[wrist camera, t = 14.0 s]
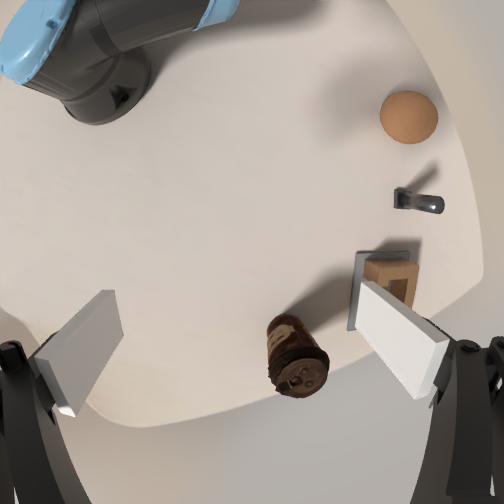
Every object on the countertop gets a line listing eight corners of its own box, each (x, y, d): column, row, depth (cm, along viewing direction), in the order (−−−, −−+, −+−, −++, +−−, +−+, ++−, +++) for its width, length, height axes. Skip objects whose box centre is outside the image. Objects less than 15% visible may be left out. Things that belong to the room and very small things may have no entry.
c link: (364, 259, 41) (379, 268, 37) (402, 257, 42) (419, 265, 37) (356, 325, 44) (368, 338, 39) (392, 319, 45) (406, 331, 40)
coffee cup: (252, 346, 44) (260, 398, 32) (266, 303, 42) (280, 349, 30) (299, 354, 45) (319, 403, 33) (316, 313, 44) (344, 357, 31)
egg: (365, 134, 37) (405, 121, 26) (374, 92, 36) (411, 71, 25) (404, 154, 38) (448, 150, 28) (411, 114, 37) (453, 102, 26)
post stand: (394, 190, 40) (432, 193, 30) (407, 191, 40) (446, 195, 30) (393, 208, 40) (431, 215, 31) (407, 208, 41) (445, 216, 31)
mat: (355, 253, 42) (357, 254, 41) (407, 251, 43) (409, 252, 42) (346, 329, 45) (347, 331, 44) (396, 321, 46) (397, 323, 45)
